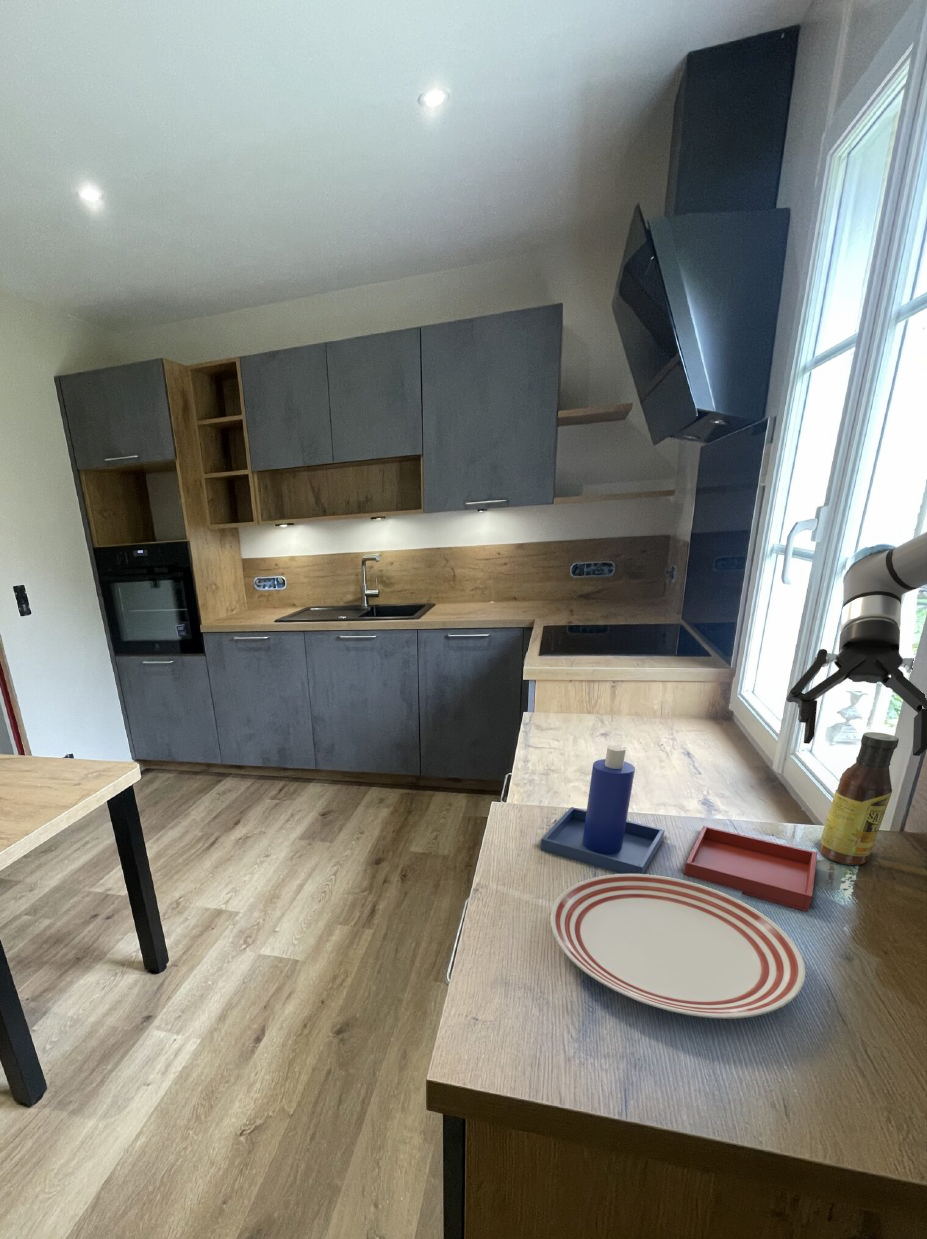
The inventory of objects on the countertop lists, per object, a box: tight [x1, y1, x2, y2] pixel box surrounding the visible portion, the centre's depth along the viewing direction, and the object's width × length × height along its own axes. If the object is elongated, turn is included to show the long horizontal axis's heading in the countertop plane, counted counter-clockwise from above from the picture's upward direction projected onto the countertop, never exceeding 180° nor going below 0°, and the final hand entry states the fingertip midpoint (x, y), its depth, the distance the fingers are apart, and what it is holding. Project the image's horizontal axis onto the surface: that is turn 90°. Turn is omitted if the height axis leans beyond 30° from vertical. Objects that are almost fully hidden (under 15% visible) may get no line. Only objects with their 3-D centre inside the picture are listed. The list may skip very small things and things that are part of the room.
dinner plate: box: [549, 873, 807, 1019], centre depth 76 cm, size 28×27×3 cm
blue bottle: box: [582, 744, 636, 854], centre depth 97 cm, size 6×6×17 cm
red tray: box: [683, 825, 818, 913], centre depth 92 cm, size 15×14×2 cm
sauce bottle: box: [818, 731, 900, 866], centre depth 91 cm, size 6×6×20 cm
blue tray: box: [539, 806, 666, 874], centre depth 100 cm, size 15×14×2 cm
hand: (862, 745), depth 94 cm, fingers open, 13 cm apart
